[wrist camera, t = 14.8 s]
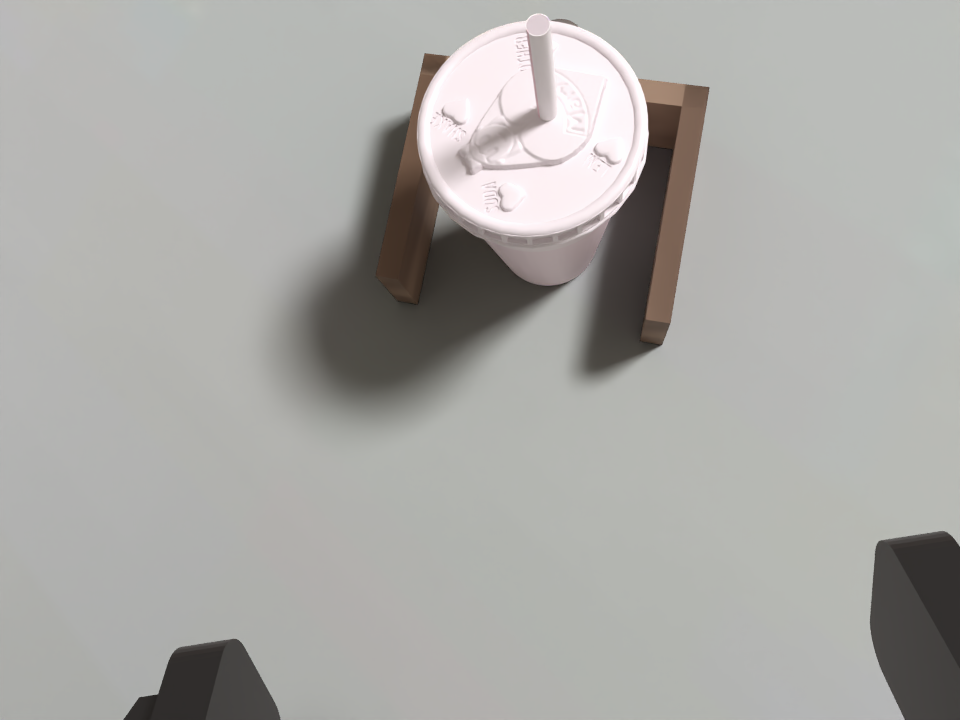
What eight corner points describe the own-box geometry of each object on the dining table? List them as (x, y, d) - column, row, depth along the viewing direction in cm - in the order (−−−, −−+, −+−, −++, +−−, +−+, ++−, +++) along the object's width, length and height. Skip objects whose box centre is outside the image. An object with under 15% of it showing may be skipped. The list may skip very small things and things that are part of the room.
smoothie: (668, 265, 32) (720, 75, 19) (517, 353, 33) (461, 228, 19) (578, 128, 34) (566, -141, 20) (434, 213, 34) (326, 3, 20)
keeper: (397, 300, 33) (356, 253, 28) (443, 90, 35) (413, 2, 29) (662, 344, 32) (677, 304, 26) (698, 122, 33) (721, 36, 27)
